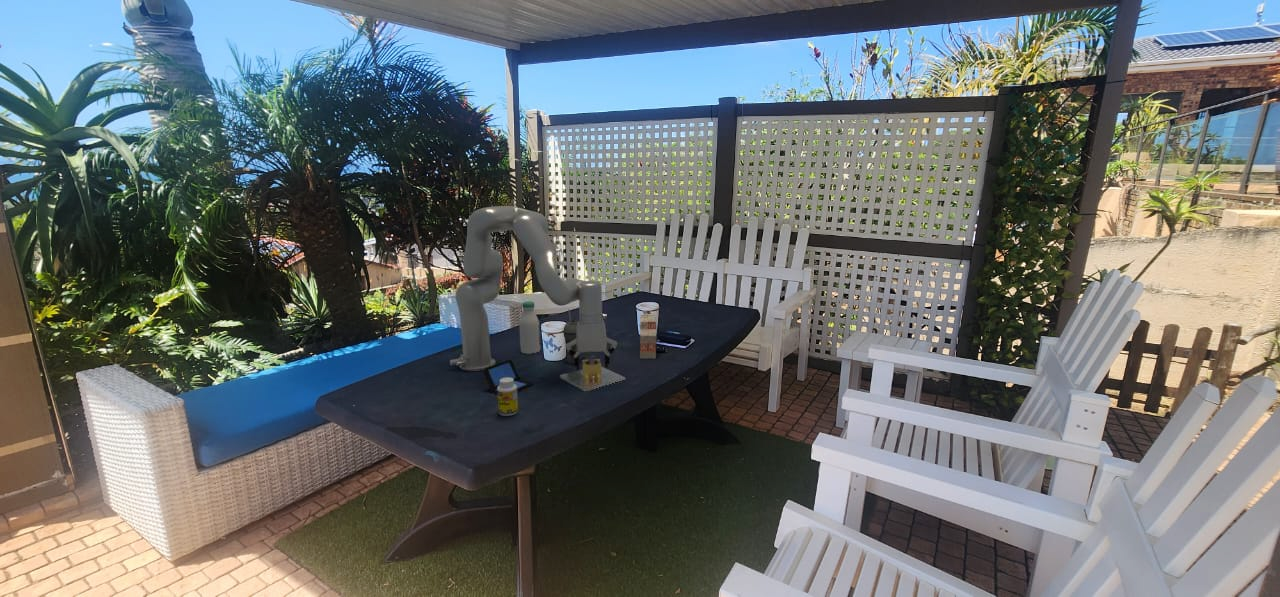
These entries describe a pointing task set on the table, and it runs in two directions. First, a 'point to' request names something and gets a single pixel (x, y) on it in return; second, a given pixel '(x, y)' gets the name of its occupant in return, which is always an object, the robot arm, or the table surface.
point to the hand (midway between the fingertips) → (592, 367)
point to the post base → (578, 381)
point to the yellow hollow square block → (591, 370)
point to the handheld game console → (504, 376)
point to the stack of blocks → (647, 336)
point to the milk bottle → (529, 329)
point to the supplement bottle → (507, 397)
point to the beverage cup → (570, 337)
